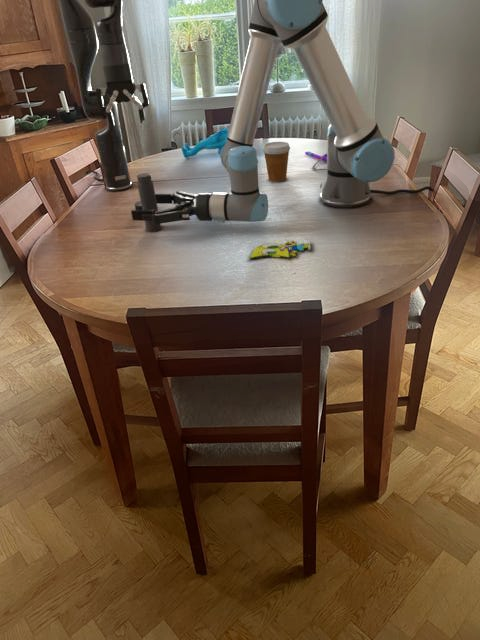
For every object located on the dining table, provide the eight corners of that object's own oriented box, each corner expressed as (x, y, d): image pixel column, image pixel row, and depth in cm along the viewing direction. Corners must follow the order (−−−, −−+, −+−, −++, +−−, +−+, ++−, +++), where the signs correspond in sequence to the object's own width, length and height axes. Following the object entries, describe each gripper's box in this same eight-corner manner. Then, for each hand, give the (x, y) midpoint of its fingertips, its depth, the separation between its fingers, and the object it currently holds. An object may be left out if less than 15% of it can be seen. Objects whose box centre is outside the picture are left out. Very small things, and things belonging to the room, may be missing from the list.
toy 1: (187, 137, 214) (250, 117, 204) (195, 160, 219) (257, 142, 209) (175, 147, 200) (242, 126, 190) (184, 171, 205) (250, 153, 195)
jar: (162, 225, 143) (152, 172, 135) (159, 231, 140) (150, 176, 131) (147, 226, 144) (137, 173, 135) (145, 232, 140) (134, 177, 131)
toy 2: (310, 255, 116) (249, 256, 118) (310, 259, 116) (249, 259, 119) (310, 238, 124) (253, 239, 127) (310, 241, 125) (253, 242, 127)
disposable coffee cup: (260, 182, 170) (258, 147, 164) (269, 174, 177) (267, 141, 171) (286, 183, 167) (285, 148, 160) (294, 175, 174) (293, 141, 168)
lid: (132, 211, 156) (131, 204, 155) (144, 205, 160) (143, 199, 158) (143, 213, 153) (142, 206, 152) (155, 208, 157) (154, 201, 155)
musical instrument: (342, 175, 173) (362, 153, 185) (341, 169, 172) (361, 148, 184) (283, 174, 186) (305, 153, 198) (282, 169, 184) (305, 148, 196)
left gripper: (88, 66, 130) (102, 129, 139) (140, 61, 130) (151, 124, 139) (92, 63, 136) (105, 124, 145) (142, 58, 137) (152, 119, 146)
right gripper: (200, 237, 126) (126, 236, 131) (225, 204, 146) (160, 204, 151) (197, 210, 122) (121, 209, 126) (222, 180, 142) (155, 180, 147)
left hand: (127, 124), depth 142 cm, fingers open, 8 cm apart
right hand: (142, 206), depth 139 cm, fingers open, 13 cm apart
